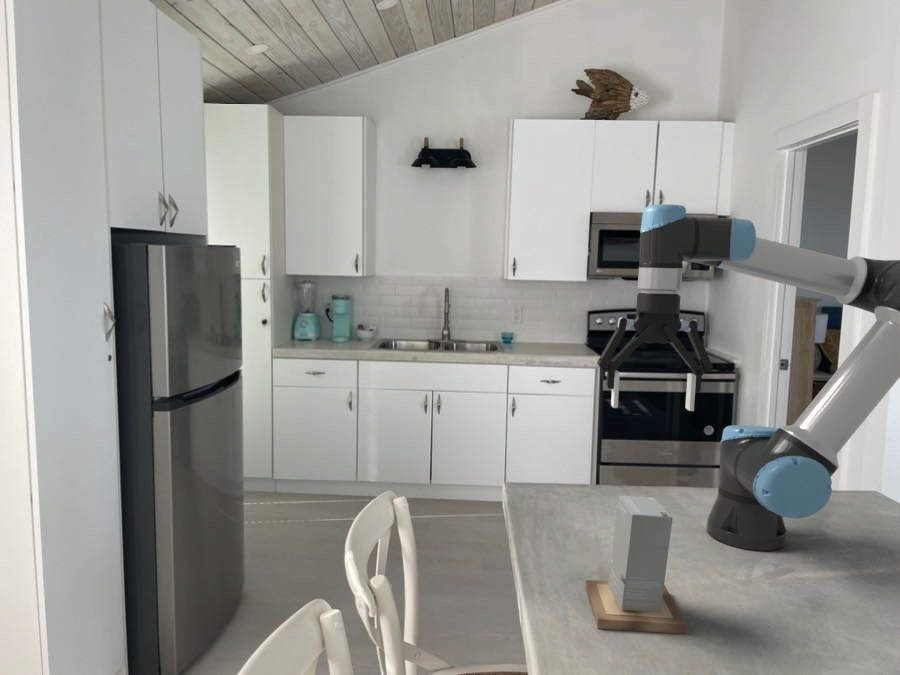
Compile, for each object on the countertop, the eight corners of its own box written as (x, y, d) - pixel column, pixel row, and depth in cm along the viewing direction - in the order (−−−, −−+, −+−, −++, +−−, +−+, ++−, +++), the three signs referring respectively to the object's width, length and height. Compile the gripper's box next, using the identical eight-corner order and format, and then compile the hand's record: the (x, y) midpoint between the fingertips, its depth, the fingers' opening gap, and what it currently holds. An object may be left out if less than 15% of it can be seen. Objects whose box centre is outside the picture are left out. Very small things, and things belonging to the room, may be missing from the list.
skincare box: (607, 587, 112) (612, 493, 111) (650, 588, 113) (656, 494, 111) (621, 613, 104) (627, 512, 102) (667, 613, 104) (674, 513, 103)
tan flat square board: (663, 592, 115) (664, 583, 114) (685, 633, 102) (686, 623, 101) (585, 588, 115) (586, 579, 115) (597, 628, 102) (598, 618, 102)
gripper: (722, 293, 126) (714, 406, 128) (586, 289, 127) (580, 401, 129) (737, 295, 119) (728, 415, 121) (592, 290, 120) (586, 409, 122)
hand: (651, 408), depth 125 cm, fingers open, 13 cm apart
